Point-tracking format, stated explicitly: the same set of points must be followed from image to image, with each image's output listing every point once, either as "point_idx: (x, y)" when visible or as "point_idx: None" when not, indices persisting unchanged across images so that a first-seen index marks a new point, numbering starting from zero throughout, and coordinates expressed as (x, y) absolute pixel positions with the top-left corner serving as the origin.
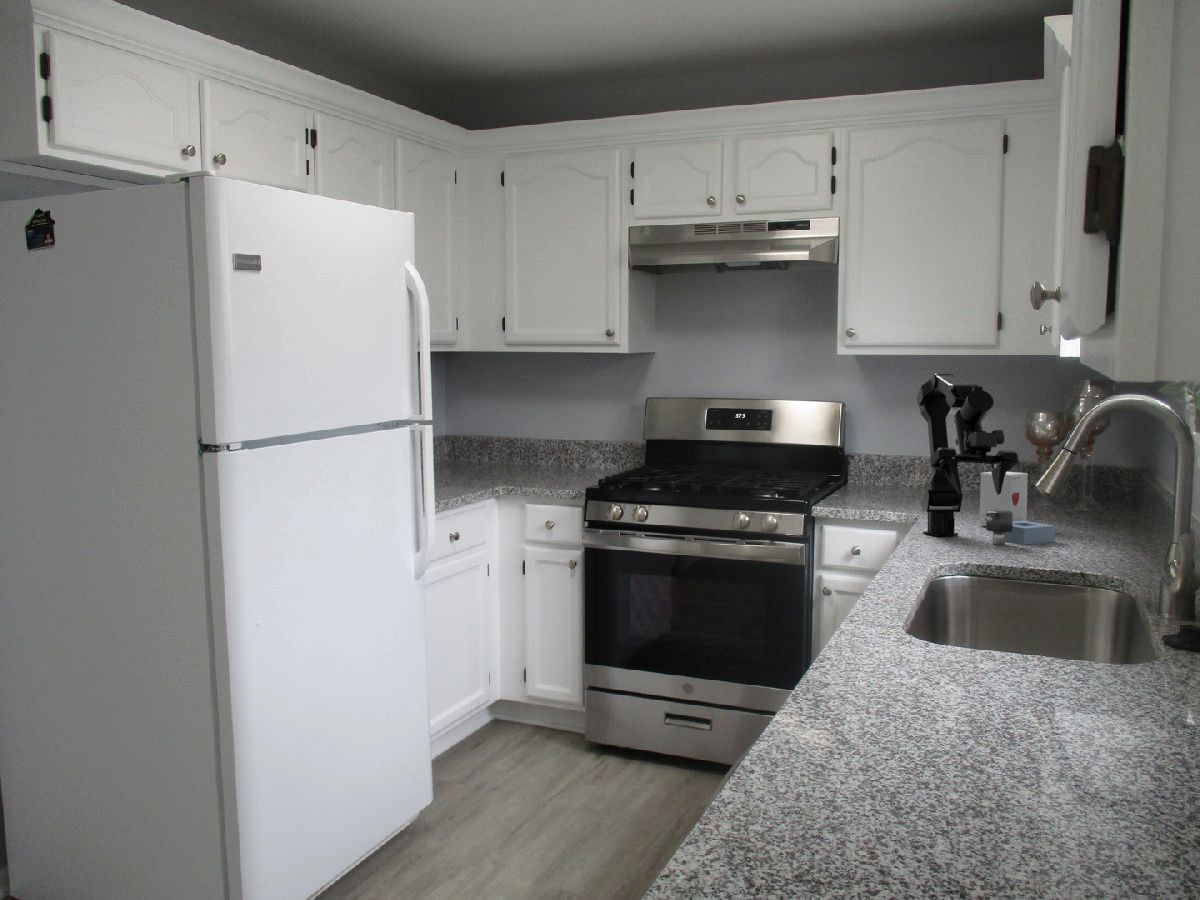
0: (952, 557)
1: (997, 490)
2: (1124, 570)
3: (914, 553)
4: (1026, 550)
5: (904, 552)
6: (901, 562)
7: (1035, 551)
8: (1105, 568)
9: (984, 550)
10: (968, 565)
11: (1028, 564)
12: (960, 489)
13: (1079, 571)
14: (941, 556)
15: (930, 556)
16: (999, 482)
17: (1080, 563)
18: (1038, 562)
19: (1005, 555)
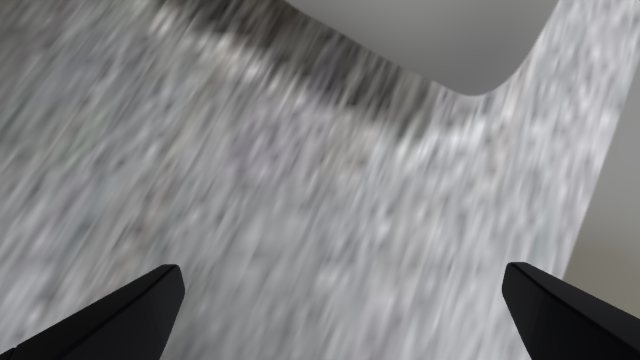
0: (411, 228)
1: (167, 302)
2: (35, 18)
3: None
4: None
5: None
6: (584, 159)
7: None
8: (66, 45)
9: (260, 349)
10: (409, 105)
11: (239, 109)
12: (520, 265)
13: (157, 13)
14: (439, 247)
15: (473, 249)
16: (107, 315)
17: (87, 114)
18: (195, 135)
19: (235, 251)
